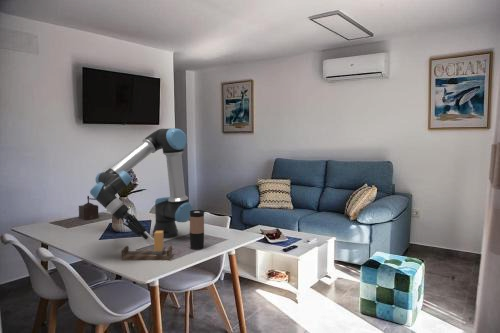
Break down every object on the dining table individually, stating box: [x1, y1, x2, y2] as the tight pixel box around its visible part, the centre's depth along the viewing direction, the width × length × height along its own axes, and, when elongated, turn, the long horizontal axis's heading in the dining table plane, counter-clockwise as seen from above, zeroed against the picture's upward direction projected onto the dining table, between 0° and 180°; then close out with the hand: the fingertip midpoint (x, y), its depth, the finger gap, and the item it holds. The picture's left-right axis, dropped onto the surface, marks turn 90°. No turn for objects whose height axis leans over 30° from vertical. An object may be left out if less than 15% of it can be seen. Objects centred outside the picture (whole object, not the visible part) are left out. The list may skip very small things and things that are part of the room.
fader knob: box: [152, 231, 166, 255], centre depth 180 cm, size 4×6×10 cm
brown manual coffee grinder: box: [78, 195, 100, 221], centre depth 267 cm, size 16×11×18 cm
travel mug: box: [189, 209, 205, 251], centre depth 196 cm, size 8×8×20 cm
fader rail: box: [120, 245, 173, 261], centre depth 180 cm, size 23×8×4 cm, turn 93°
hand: (152, 242), depth 180 cm, fingers closed
